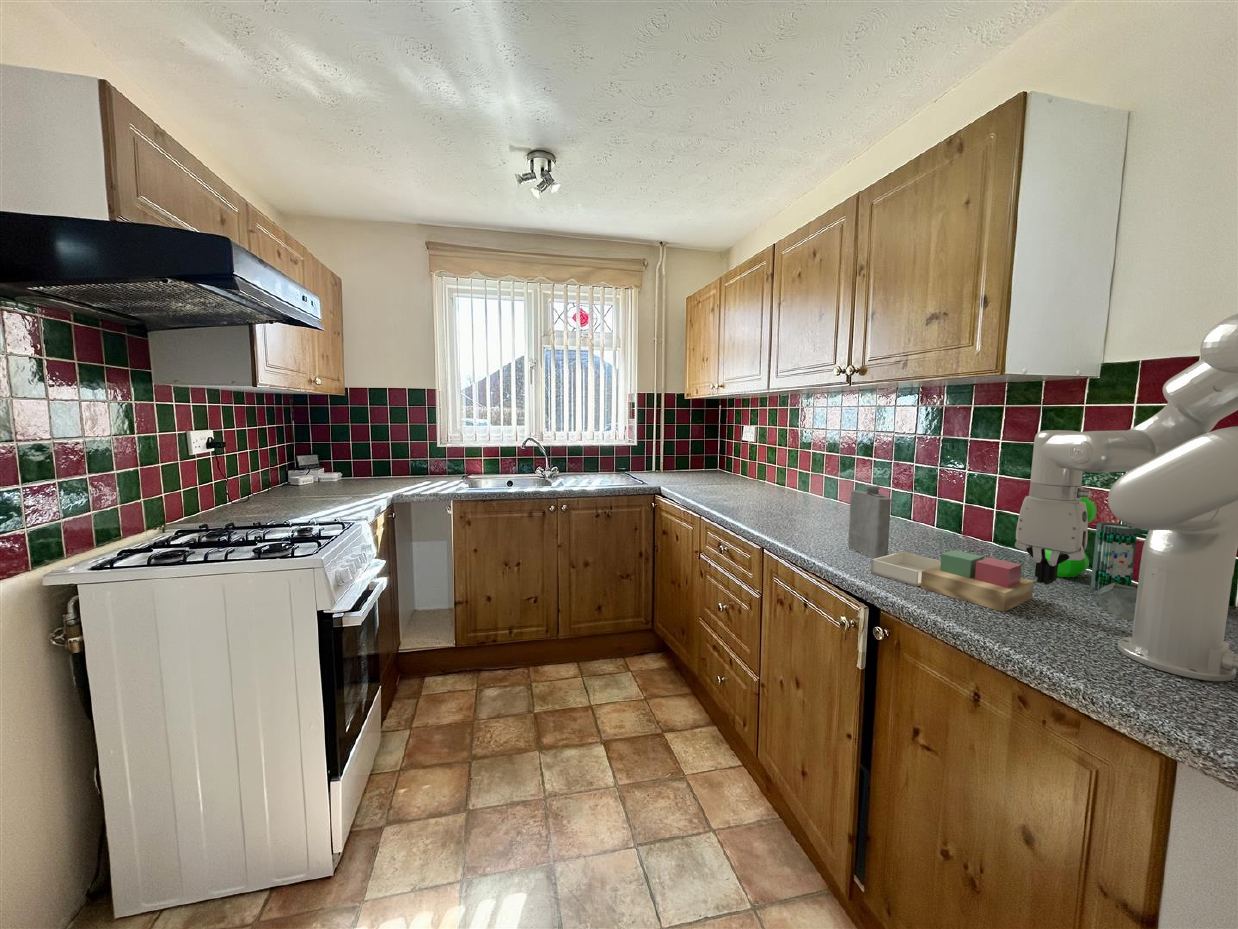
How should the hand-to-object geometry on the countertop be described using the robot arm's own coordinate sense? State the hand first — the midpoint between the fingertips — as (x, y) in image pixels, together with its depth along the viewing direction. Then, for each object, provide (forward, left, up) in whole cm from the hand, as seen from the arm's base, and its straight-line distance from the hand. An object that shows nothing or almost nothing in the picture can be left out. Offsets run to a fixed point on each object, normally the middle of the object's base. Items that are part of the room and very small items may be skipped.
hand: (1045, 582), depth 97 cm
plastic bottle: (+7, -33, -6) cm, 34 cm away
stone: (-10, -15, -7) cm, 19 cm away
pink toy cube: (+8, 0, -2) cm, 8 cm away
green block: (+15, 0, -2) cm, 15 cm away
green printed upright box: (-3, -29, -6) cm, 30 cm away
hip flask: (+42, -8, -6) cm, 43 cm away
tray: (+26, 0, -6) cm, 27 cm away
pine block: (+12, 0, -6) cm, 14 cm away
